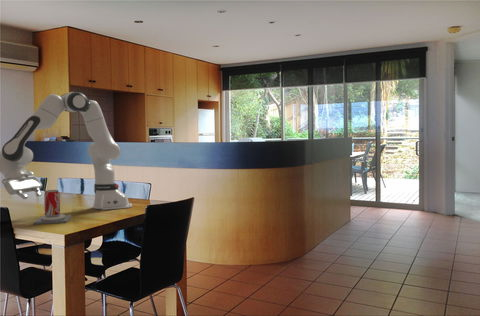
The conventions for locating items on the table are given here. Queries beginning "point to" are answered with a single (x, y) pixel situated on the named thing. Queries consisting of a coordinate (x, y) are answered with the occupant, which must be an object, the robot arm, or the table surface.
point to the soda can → (52, 203)
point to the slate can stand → (53, 219)
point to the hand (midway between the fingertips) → (33, 197)
